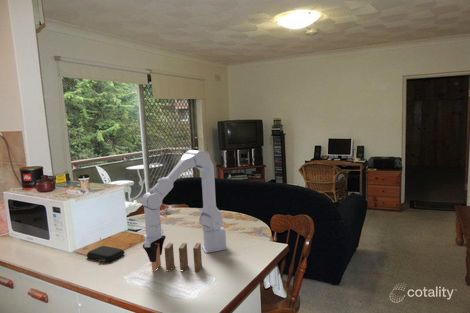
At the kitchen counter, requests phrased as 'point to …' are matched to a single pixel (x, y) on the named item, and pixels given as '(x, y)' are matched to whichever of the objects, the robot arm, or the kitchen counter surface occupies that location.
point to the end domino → (157, 259)
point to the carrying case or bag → (105, 254)
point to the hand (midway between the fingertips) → (155, 258)
